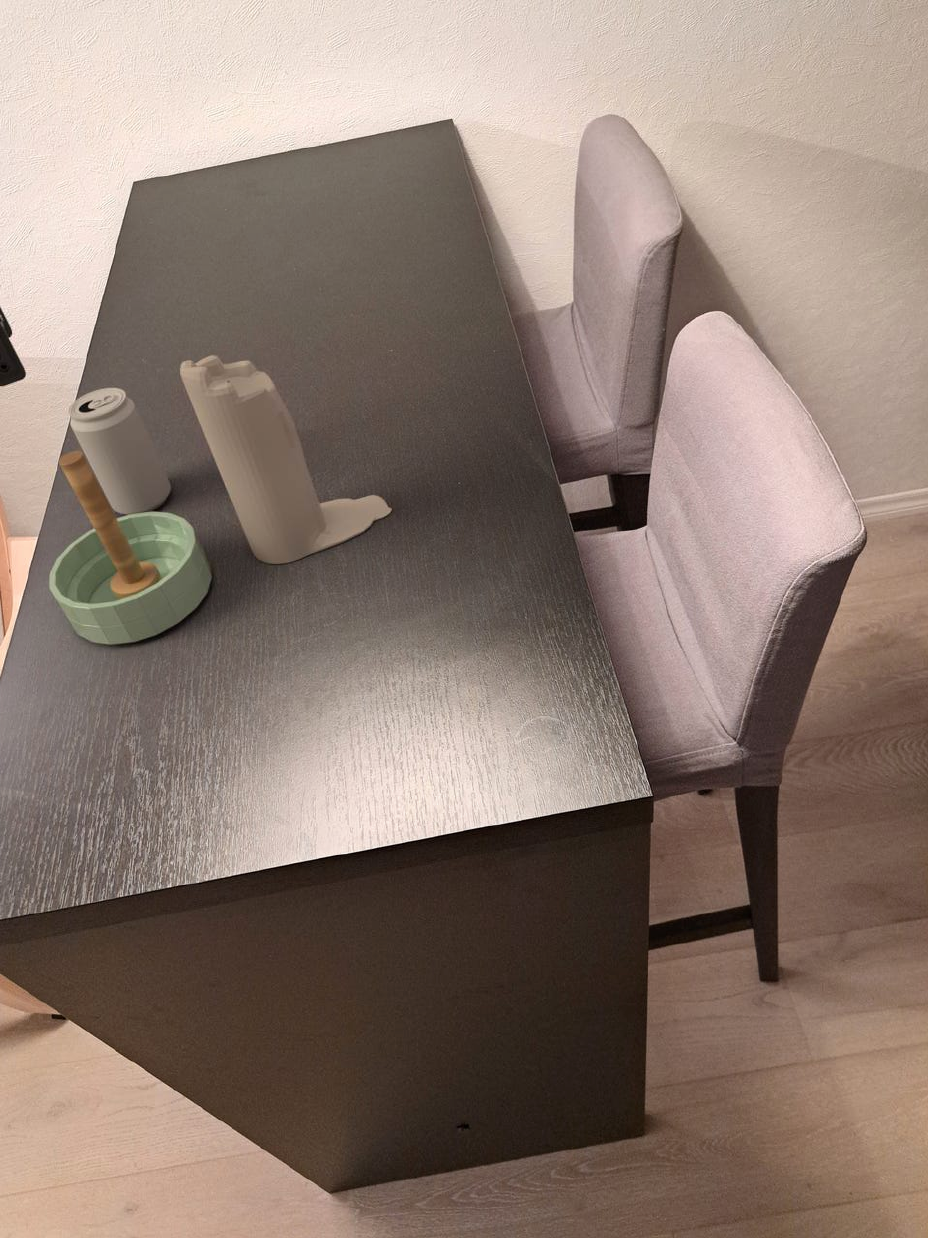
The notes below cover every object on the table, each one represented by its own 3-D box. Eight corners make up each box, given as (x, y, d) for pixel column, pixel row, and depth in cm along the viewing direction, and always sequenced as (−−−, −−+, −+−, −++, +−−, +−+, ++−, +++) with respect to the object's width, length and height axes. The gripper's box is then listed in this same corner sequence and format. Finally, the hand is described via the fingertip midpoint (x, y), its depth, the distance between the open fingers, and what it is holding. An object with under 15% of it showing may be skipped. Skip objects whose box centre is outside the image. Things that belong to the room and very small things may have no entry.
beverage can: (110, 497, 101) (60, 399, 93) (167, 476, 103) (123, 377, 95) (119, 527, 97) (67, 427, 89) (179, 504, 98) (133, 403, 90)
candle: (399, 520, 90) (348, 325, 76) (261, 574, 87) (183, 382, 74) (375, 484, 95) (323, 295, 81) (244, 533, 92) (168, 347, 79)
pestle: (149, 611, 85) (76, 474, 75) (109, 606, 86) (33, 471, 76) (174, 579, 88) (107, 443, 78) (135, 575, 89) (64, 441, 79)
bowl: (166, 657, 81) (144, 615, 78) (45, 640, 85) (18, 599, 82) (238, 558, 90) (220, 516, 86) (124, 547, 94) (103, 507, 91)
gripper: (-180, 117, 63) (-52, 343, 73) (-188, 162, 52) (-39, 416, 63) (-65, 86, 64) (43, 311, 75) (-52, 124, 54) (71, 377, 65)
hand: (5, 359), depth 69 cm, fingers open, 8 cm apart
